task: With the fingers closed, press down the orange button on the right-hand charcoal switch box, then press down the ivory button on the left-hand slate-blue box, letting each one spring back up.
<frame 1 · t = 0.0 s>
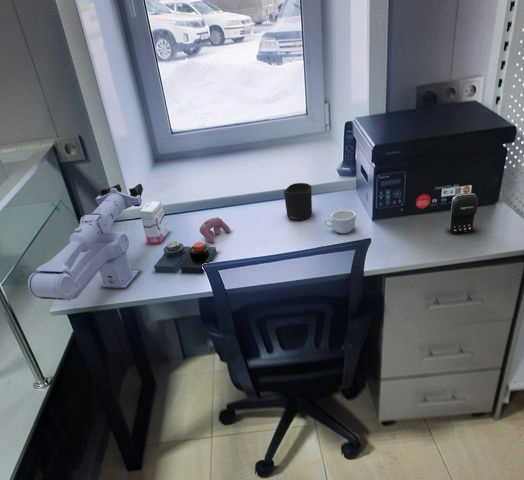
hand: (130, 187, 156), 22 cm above the table, tool horizontal, fingers open, 7 cm apart
teacup: (340, 231, 163), on the table
ink box: (158, 238, 176), on the table
right button: (199, 247, 157), point 4 cm above the table, slide at 0.1 cm
pink curved piece: (215, 236, 171), on the table
left button: (173, 246, 159), point 4 cm above the table, slide at 0.1 cm
pen holder: (299, 216, 176), on the table
left box: (174, 262, 160), on the table
right box: (199, 262, 158), on the table
battery charger: (461, 232, 152), on the table
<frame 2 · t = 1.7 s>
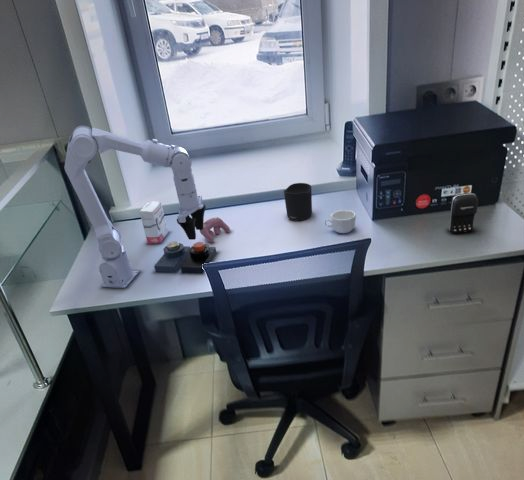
hand: (196, 234, 154), 9 cm above the table, tool pointing down, fingers open, 6 cm apart
nothing on the table moved.
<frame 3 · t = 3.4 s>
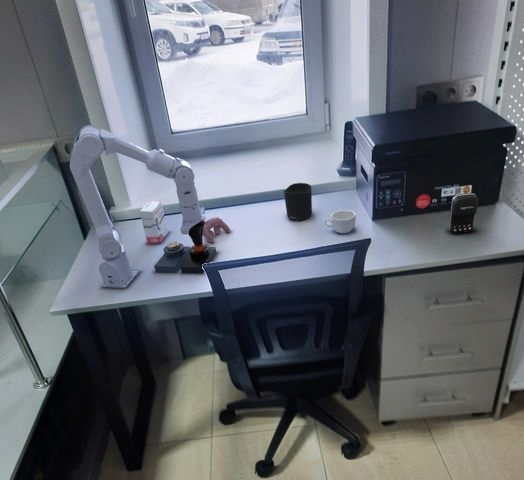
hand: (198, 245, 156), 5 cm above the table, tool pointing down, fingers closed, pressing on right button
right button: (199, 247, 157), point 4 cm above the table, slide at -0.1 cm, touching gripper
everything else where it was.
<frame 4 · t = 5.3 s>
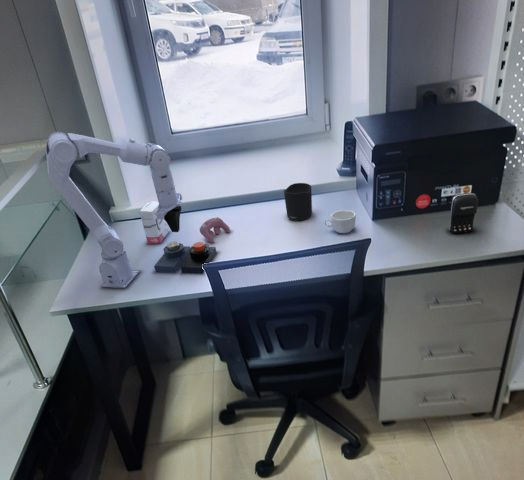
hand: (175, 231, 155), 10 cm above the table, tool pointing down, fingers closed
right button: (199, 247, 157), point 4 cm above the table, slide at 0.1 cm
everything else where it was.
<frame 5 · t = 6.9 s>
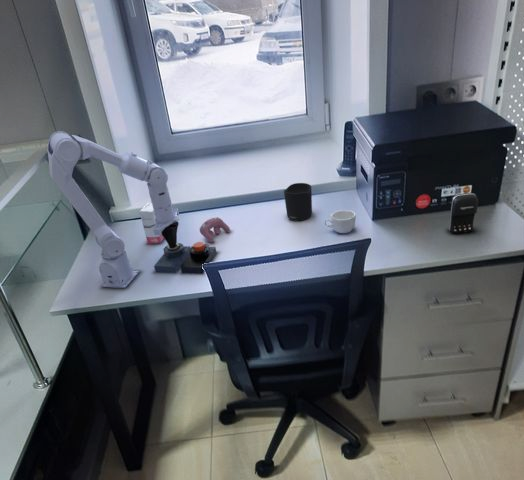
hand: (173, 245, 159), 5 cm above the table, tool pointing down, fingers closed, pressing on left button
left button: (173, 248, 159), point 4 cm above the table, slide at -0.5 cm, touching gripper
everything else where it was.
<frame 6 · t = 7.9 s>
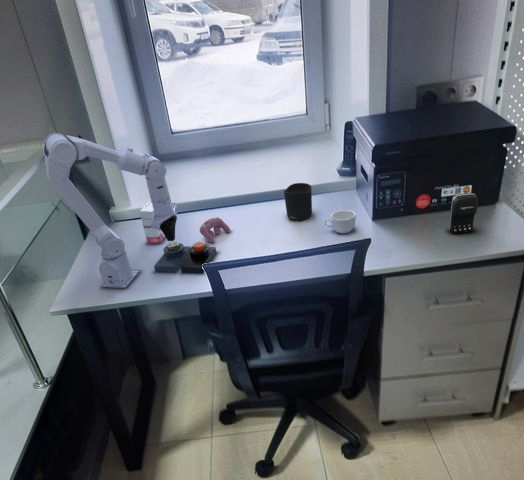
hand: (171, 240, 158), 7 cm above the table, tool pointing down, fingers closed
left button: (173, 246, 159), point 4 cm above the table, slide at 0.1 cm
everything else where it was.
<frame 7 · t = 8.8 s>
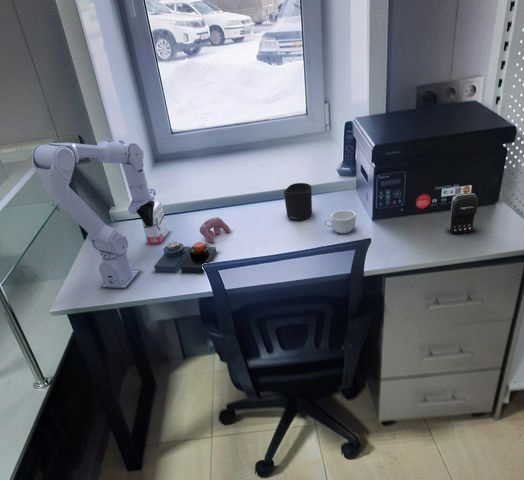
hand: (149, 225, 160), 10 cm above the table, tool pointing down, fingers closed
nothing on the table moved.
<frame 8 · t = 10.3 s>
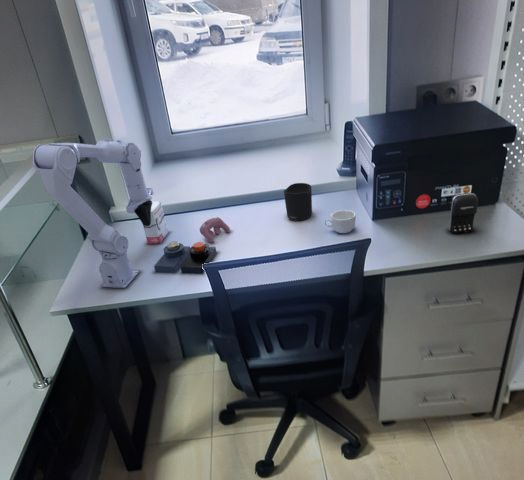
hand: (147, 224, 160), 10 cm above the table, tool pointing down, fingers closed
nothing on the table moved.
at the end: right button pushed in 1.0 cm at the most during the clip, back to where it started at the end; left button pushed in 1.0 cm at the most during the clip, back to where it started at the end; left button slide at 0.1 cm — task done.
